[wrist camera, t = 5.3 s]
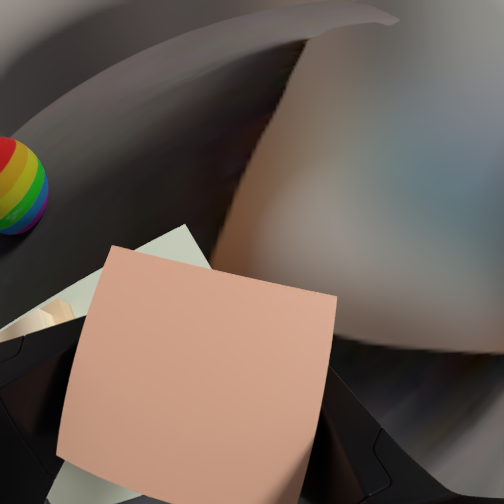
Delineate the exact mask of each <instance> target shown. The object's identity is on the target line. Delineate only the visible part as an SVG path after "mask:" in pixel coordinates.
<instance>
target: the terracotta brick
mask: <svg viewBox="0 0 504 504" xmlns="http://www.w3.org/2000/svg"><path fill="white" fill-rule="evenodd" d="M336 303H337V296H332V295H327V294H322V293H317V292H312V291H307V290H303V289H298V288H293V287H288V286H284V285H279V284H275V283H270V282H265V281H261V280H256V279H252V278H247V277H243V276H238V275H234V274H229V273H225V272H221V271H216V270H212V269H208V268H203V267H199V266H195V265H191V264H186V263H182V262H178V261H174V260H170V259H165V258H161V257H157V256H153V255H149V254H145V253H141V252H137V251H133V250H129V249H125V248H121V247H117V246H113V245H112V247H111V250H110V252H109V255H108V257H107V260H106V262H105V265H104V268H103V270H102V273H101V275H100V278H99V281H98V284H97V286H96V289H95V292H94V295H93V298H92V301H91V304H90V307H89V310H88V313H87V316H86V319H85V323H84V326H83V329H82V332H81V336H80V339H79V343H78V346H77V350H76V354H75V358H74V362H73V366H72V370H71V374H70V378H69V382H68V387H67V392H66V396H65V401H64V407H63V412H62V418H61V424H60V430H59V437H58V444H57V452H56V455H57V456H59V457H61V458H62V459H64V460H66V461H68V462H70V463H72V464H73V465H75V466H77V467H79V468H81V469H83V470H85V471H87V472H89V473H92V474H94V475H96V476H98V477H100V478H102V479H105V480H107V481H109V482H112V483H114V484H117V485H119V486H122V487H124V488H127V489H129V490H132V491H135V492H137V493H140V494H143V495H146V496H149V497H152V498H155V499H158V500H162V501H165V502H168V503H172V504H297V502H298V499H299V496H300V492H301V489H302V485H303V481H304V478H305V474H306V470H307V466H308V462H309V458H310V454H311V450H312V446H313V441H314V437H315V432H316V428H317V423H318V418H319V413H320V408H321V403H322V398H323V392H324V387H325V381H326V375H327V369H328V363H329V357H330V350H331V343H332V336H333V328H334V320H335V311H336Z"/></svg>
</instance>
